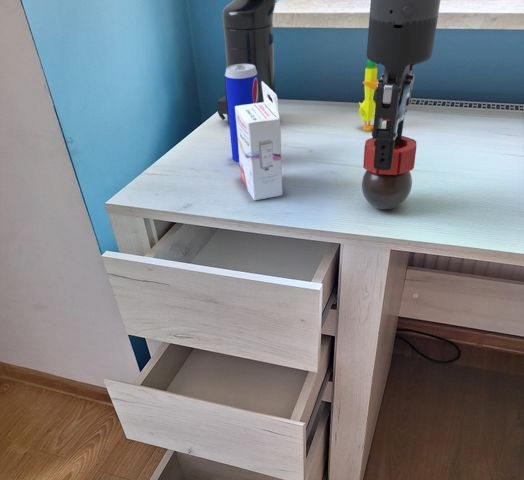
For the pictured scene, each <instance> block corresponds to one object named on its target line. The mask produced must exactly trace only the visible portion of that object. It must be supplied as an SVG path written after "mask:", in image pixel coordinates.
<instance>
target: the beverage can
mask: <svg viewBox="0 0 524 480" xmlns="http://www.w3.org/2000/svg"><path fill="white" fill-rule="evenodd" d="M225 72H226V73H225ZM225 72H224V73H225V79H226V91H227V102H228V114H229V124H228V125H229V132H230V133H229V134H230V136H229V137H230V146H231V147H230V148H231V158H232V161H233V162H234V163H235V164H236V165H238V166H240V163H239V148H238V136H237V124H236V114H235V106H240V105H247V104H254V103H259V95H258V76H257V70H256V67H255V66H254V65H252V64H235V65H231V66H228V67H227V66H226V67H225Z"/></svg>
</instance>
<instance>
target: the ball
mask: <svg viewBox="0 0 524 480" xmlns="http://www.w3.org/2000/svg"><path fill="white" fill-rule="evenodd" d="M412 187H413V177H412V174H411V171H408V172H405V173H402V174H397V175H387V174H379V173H377V174H375V173H373V172H370V171H368V170H366V169H365V172H364V174H363V176H362V180H361V191H362V195H363V197H364V199H365V200H366V202H367V203H368V204H369V205H371V206H372V207H374V208H376V209H379V210H392V209H394V208H395V209H396V208H397V207H399V206H400V205H402V204H403V203H404V202H405V201H406V200H407V199H408V197H409V195H410V193H411V191H412Z"/></svg>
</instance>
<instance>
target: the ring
mask: <svg viewBox="0 0 524 480" xmlns="http://www.w3.org/2000/svg"><path fill="white" fill-rule="evenodd" d="M375 145H376V139H372V137H369V138H367V139H366V140H365V143H364V148H363V149H364V151H363V167H362V168H363V169H364V170H365V171H366V170H368V171H370V172H373V173H375V174H377V173H379V174H387V175H397V174H402V173H405V172H408V171H410V172H411V171H413V170H414V169H415V162H416V154H417V140H416V139H413V138H410V137H408V136H405V135H402V139H401V143H400V144H399V145H398V146H394V152H393V160H392V166H391V168H390V169H389V170H377V169H375V168H374V155H375Z"/></svg>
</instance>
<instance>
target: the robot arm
mask: <svg viewBox="0 0 524 480" xmlns="http://www.w3.org/2000/svg"><path fill="white" fill-rule="evenodd" d="M276 2H277V0H232V1H231V2H229V3H228V4H227V5H226V6H224V8H223V9H222V14H221V15H222V27H223V37H224V48H225V61H226V62H225V63H226V68H227V67H228V66H231V65H235V64H252V65H254V66H255V67H256V70H257V76H258V95H259V103H261V102H264V99H263V92H262V84H261V82H262V81H263V82H264V83H265V84H266V85H267V86H268V87H269V88H270V89H271V90H272V91H273V92H274V93H275V94H276V81H275V79H276V77H275V47H274V45H275V44H274V12H275V8H276ZM440 5H441V0H370V7H369V17H368V32H367V43H366V44H367V45H366V59H367V60H370V61H371V62H373V63H376V64H375V65H379V64H380V65H382V66H383V67H384V70H383V71H384V72H383V73H381V74H380V78H377V79H378V83H377V88H376V90H375V93H376V95H375V104H376V105H375V112H374V117H373V125H374V126H373V130H371V138H372V139H376V145H375V155H374V168H375V169H377V170H389V169H390V168H391V166H392V160H393V152H394V146H398V145H399V144H400V143H401V139H402V136H403V131H404V122H405V116H406V114H407V113H408V106H410V103H411V97H412V93H413V92H412V91H413V88H414V83H415V76H416V75H415V74H413V71H414V66H418V65H420V64H423V63H426V62H428V61H429V60H430V59H431V58H432V56H433V54H434V53H433V51H434V46H435V40H436V39H435V38H436V32H437V27H438V25H437V24H438V20H439V19H438V18H439V12H440ZM225 73H226V71H225V72H224V73H223V84H224V95H223V96H222V97H220V98H219V99H218V100H216V101H217V115H218V116H219V118H220V119H221V120H222V121H224V120H226V119H227V125H229V114H228V102H227V91H226V79H225ZM268 98H269V100H270V101H271V102H272V103H273V101H272V98H271V97H270V94H269V95H268ZM225 115H226V117H225ZM383 122H385V128H382V125H383Z"/></svg>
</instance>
